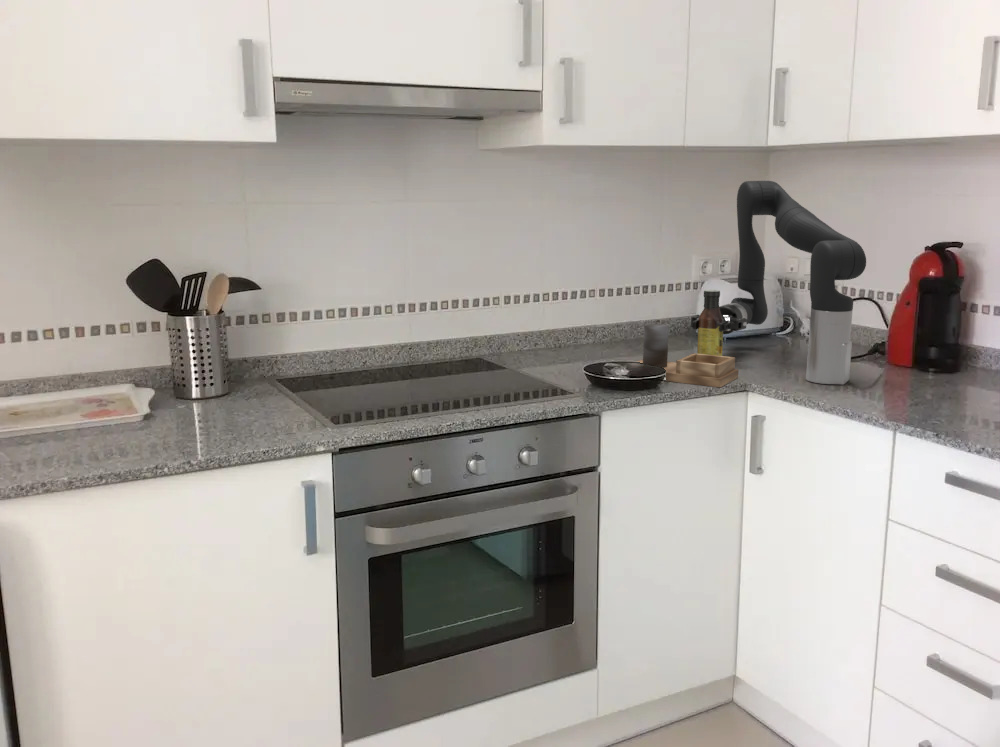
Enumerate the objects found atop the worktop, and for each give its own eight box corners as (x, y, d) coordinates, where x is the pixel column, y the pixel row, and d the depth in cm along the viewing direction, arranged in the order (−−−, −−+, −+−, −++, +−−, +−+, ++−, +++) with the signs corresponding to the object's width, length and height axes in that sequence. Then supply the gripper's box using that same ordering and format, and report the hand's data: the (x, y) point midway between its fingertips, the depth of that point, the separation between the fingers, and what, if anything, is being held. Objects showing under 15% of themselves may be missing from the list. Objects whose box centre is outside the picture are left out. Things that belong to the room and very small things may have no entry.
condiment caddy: (738, 377, 216) (740, 328, 214) (720, 387, 206) (723, 336, 203) (642, 366, 229) (644, 320, 227) (621, 375, 219) (622, 327, 216)
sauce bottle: (724, 370, 225) (728, 292, 220) (699, 370, 225) (702, 292, 220) (718, 365, 231) (722, 289, 227) (694, 365, 231) (697, 289, 227)
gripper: (703, 302, 240) (680, 309, 226) (756, 306, 233) (736, 313, 219) (702, 329, 242) (679, 338, 228) (755, 334, 234) (734, 343, 220)
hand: (707, 326), depth 224 cm, fingers closed on sauce bottle, 6 cm apart
